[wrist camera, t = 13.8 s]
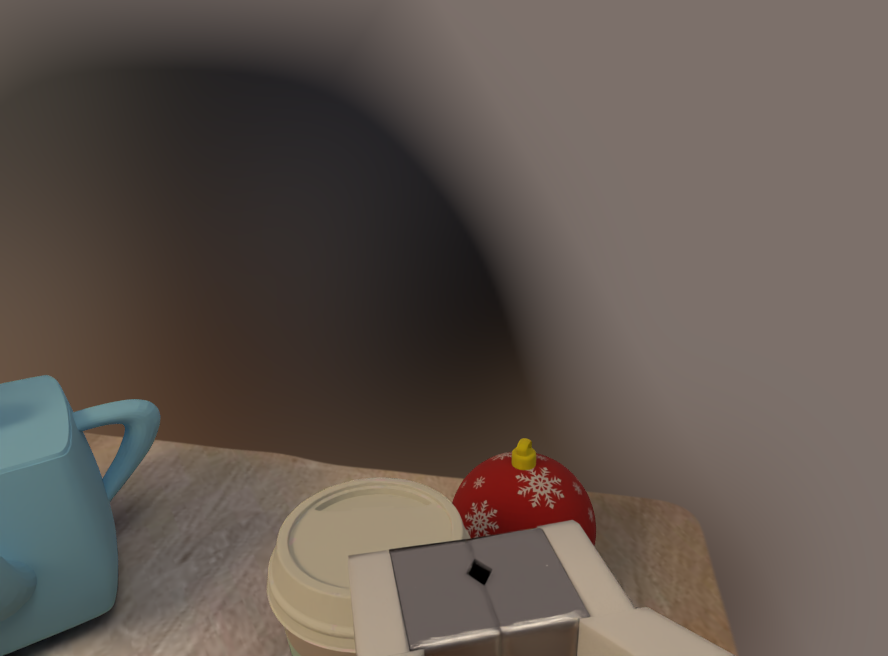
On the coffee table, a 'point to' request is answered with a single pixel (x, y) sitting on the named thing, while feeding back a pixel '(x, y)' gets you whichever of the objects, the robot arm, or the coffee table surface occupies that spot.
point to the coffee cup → (346, 553)
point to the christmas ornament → (522, 495)
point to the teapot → (59, 508)
